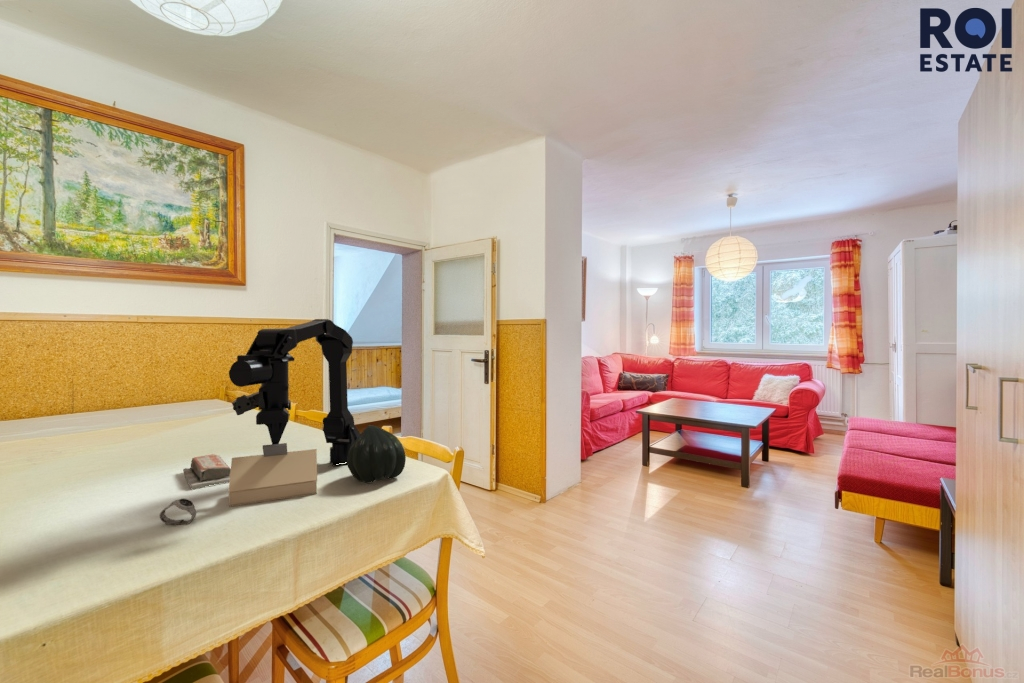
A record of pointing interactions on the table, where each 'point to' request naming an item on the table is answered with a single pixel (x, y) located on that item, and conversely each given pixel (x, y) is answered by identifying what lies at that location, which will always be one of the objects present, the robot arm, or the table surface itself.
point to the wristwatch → (181, 504)
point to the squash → (376, 455)
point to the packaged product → (207, 471)
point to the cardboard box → (272, 493)
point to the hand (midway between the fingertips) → (275, 445)
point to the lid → (273, 468)
